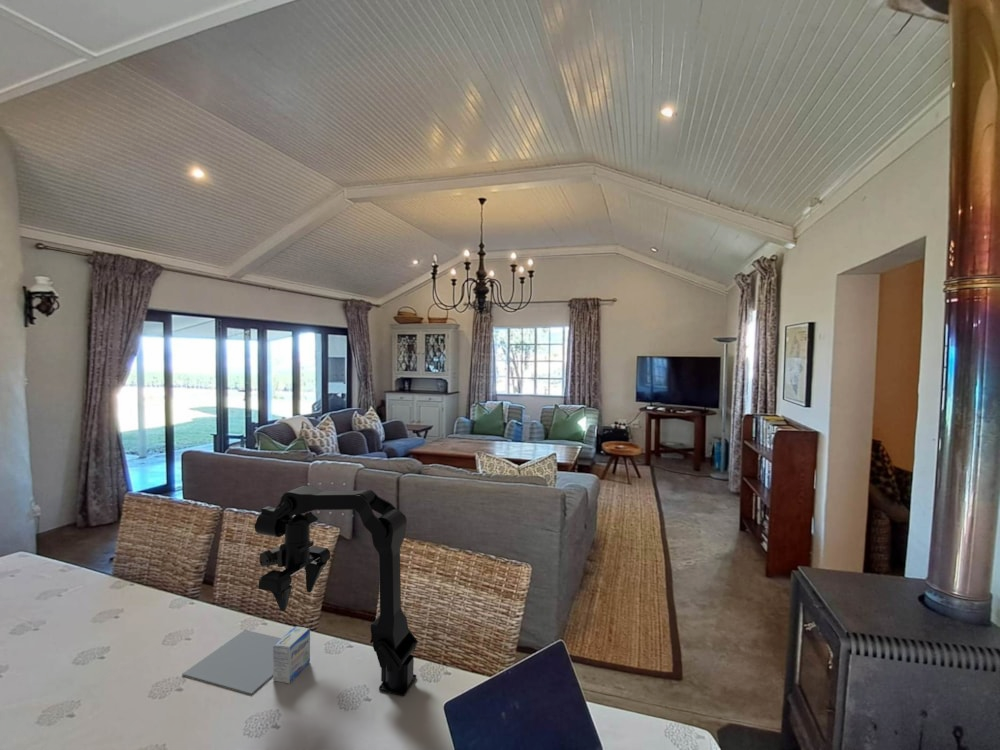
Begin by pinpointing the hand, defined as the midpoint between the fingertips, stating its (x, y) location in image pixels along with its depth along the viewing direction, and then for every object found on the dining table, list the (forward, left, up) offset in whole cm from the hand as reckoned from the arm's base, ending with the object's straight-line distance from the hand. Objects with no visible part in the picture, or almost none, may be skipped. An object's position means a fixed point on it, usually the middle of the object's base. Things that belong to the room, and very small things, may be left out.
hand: (296, 601), depth 112 cm
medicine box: (-2, +4, -15) cm, 16 cm away
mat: (+11, +4, -15) cm, 19 cm away
